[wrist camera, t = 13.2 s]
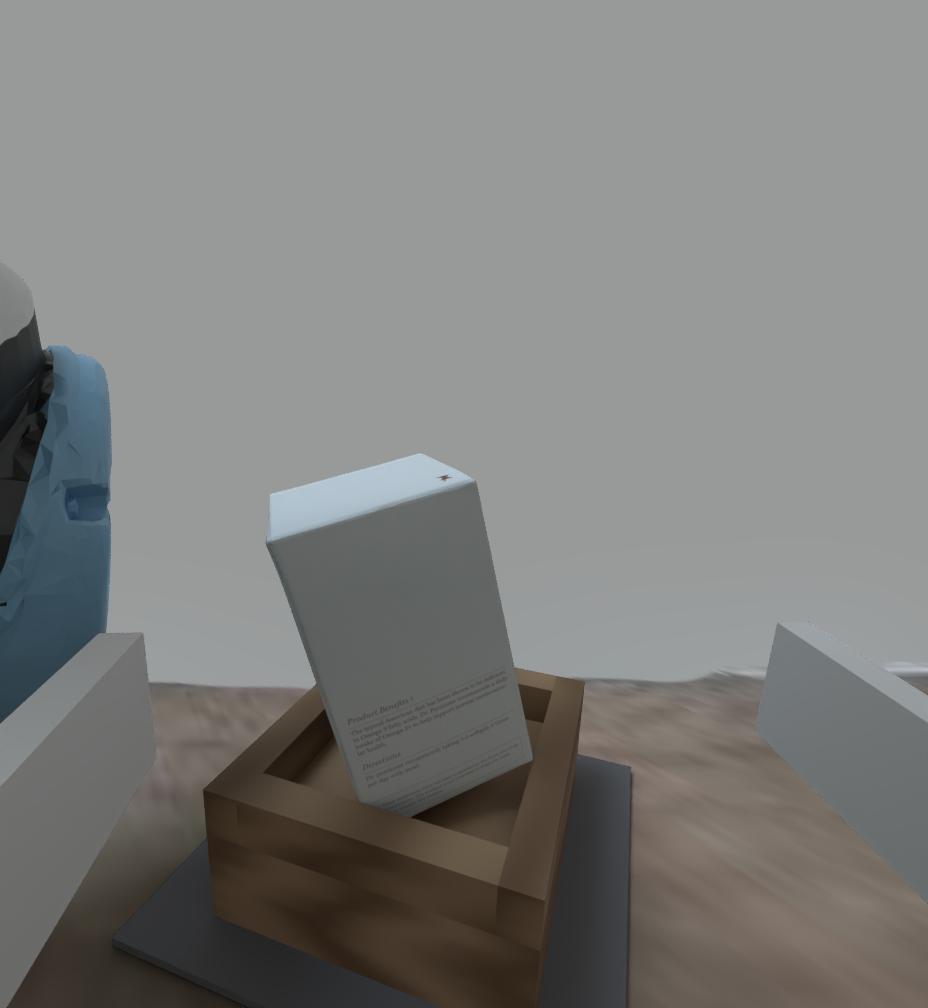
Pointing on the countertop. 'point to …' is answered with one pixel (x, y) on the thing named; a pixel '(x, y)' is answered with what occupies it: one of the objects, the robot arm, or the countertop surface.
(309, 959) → the mat
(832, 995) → the countertop surface
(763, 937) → the countertop surface
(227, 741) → the countertop surface
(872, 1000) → the countertop surface
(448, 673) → the supplement box
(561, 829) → the tray
